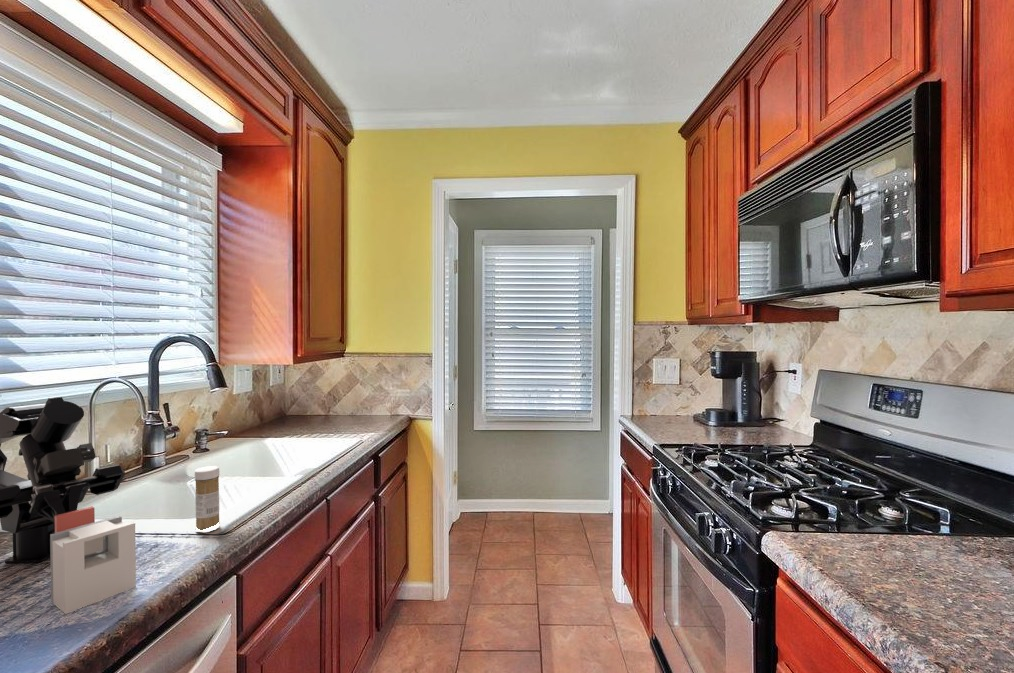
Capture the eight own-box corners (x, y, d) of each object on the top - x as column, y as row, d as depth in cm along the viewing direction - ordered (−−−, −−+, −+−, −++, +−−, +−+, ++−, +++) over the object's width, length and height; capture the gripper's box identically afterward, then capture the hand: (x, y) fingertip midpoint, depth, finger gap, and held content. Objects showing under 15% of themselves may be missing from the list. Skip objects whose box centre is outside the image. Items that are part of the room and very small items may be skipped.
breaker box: (51, 601, 75) (50, 534, 75) (119, 576, 83) (119, 515, 83) (65, 614, 72) (64, 543, 72) (135, 586, 80) (135, 523, 80)
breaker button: (55, 554, 80) (54, 515, 80) (92, 542, 84) (92, 506, 84) (72, 566, 76) (72, 525, 76) (111, 553, 80) (111, 515, 80)
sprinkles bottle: (218, 523, 106) (217, 463, 106) (221, 530, 102) (221, 468, 102) (193, 529, 103) (193, 467, 103) (196, 536, 99) (195, 472, 99)
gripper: (-17, 442, 78) (6, 522, 72) (120, 423, 94) (147, 487, 89) (-30, 482, 82) (-10, 561, 77) (103, 457, 98) (128, 521, 93)
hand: (71, 529), depth 83 cm, fingers closed
